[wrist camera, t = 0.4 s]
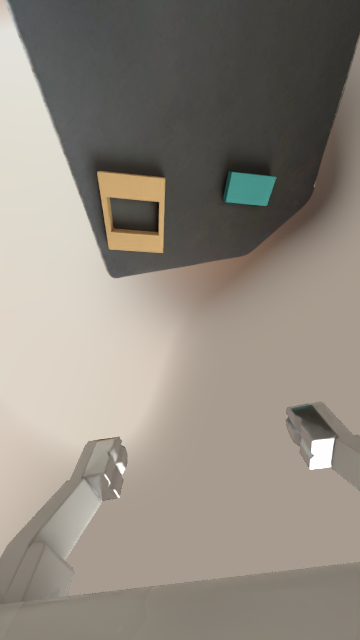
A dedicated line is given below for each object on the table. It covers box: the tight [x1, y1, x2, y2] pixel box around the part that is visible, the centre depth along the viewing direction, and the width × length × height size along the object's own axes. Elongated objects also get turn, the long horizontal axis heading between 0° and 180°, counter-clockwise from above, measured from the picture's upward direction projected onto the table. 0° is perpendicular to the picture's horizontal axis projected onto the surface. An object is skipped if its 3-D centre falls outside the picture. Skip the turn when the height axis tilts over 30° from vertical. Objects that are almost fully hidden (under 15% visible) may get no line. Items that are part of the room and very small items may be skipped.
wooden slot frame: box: [97, 171, 165, 253], centre depth 46 cm, size 16×14×3 cm
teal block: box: [223, 171, 276, 206], centre depth 43 cm, size 6×10×3 cm, turn 85°
